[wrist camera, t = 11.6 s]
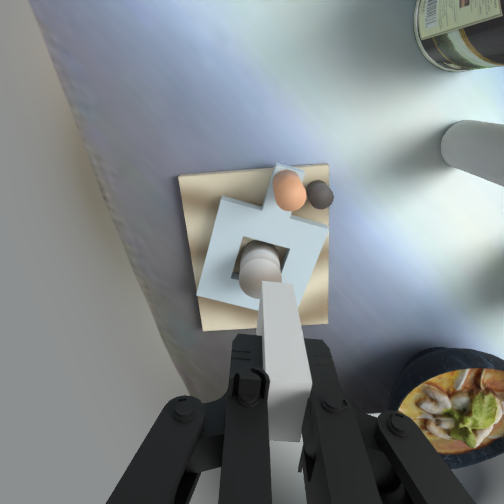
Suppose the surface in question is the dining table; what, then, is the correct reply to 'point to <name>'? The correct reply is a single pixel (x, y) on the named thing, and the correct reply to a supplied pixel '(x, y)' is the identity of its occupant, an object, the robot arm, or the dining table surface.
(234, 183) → the post base
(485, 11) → the coffee can
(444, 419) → the bowl
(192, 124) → the dining table surface
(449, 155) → the beverage can
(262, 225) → the flange plate
